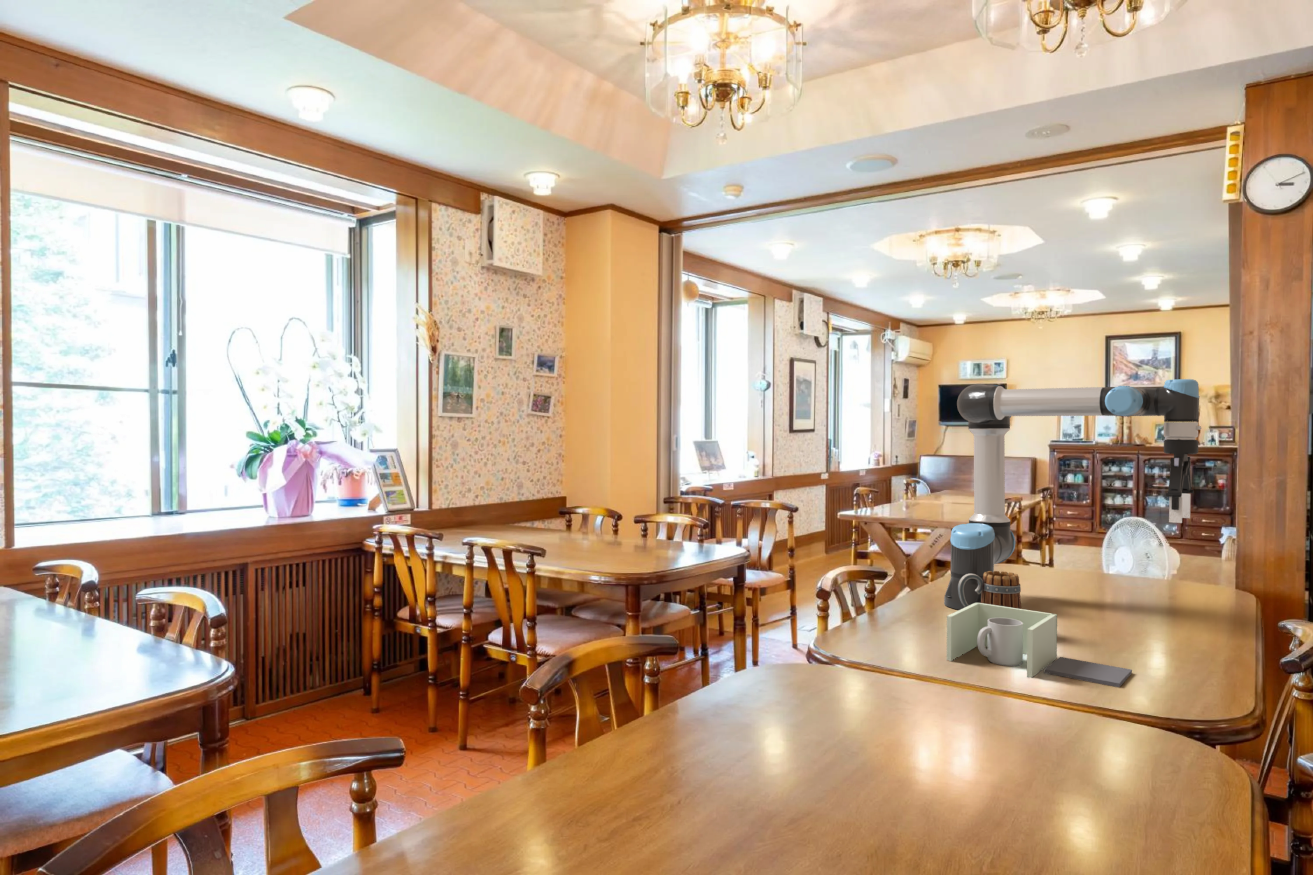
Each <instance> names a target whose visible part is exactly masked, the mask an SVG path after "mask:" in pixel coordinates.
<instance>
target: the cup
mask: <svg viewBox="0 0 1313 875" xmlns="http://www.w3.org/2000/svg"><path fill="white" fill-rule="evenodd" d="M986 635H987V647H985V637H986ZM977 645H978V646H977V649H978V650H979V653H980V654H981V655H982V656H984V657H987V660H988V661H989V662H990V663H993V664H995V665H999V666H1005V667H1016V666H1020V665H1022V663H1023V660H1024V659H1023V658H1024V656H1023V623H1022V622H1021V621H1018V620H1015V619H1009V618H990V619H988V626H986V627H984V628H982V629H981V630H980V631H979V633H978V637H977Z"/></svg>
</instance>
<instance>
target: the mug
mask: <svg viewBox="0 0 1313 875" xmlns="http://www.w3.org/2000/svg"><path fill="white" fill-rule="evenodd" d="M968 579H976V580H977V581H978V587H977V589H976V590H975V591H976V592H977V593H978V594H980V593H981V592H982V596H981V603H984V604H990V605H997V606H1004V607H1011V608H1017V609H1022V600H1021V590H1022V588H1021V583H1020V576H1019V575H1018V574H1017V573H1014V572H1010V571H1009V572H1008V571H1004V570H1003V571H1002V570H1001V571H999V570H994V571H993V572H992V571H988V572H984V574H983V580H982V579H981V578H980V577H979V576H977V575H975V574H966V575H964V576H963V577H962V578H961V579H960V581H959V584H958V593H959V598H960V601H961V603H962V604H963V606H964V607H967V606H969V605H968V604H967V602H966V600H965V596H964V585H965V583H966V581H967V580H968Z"/></svg>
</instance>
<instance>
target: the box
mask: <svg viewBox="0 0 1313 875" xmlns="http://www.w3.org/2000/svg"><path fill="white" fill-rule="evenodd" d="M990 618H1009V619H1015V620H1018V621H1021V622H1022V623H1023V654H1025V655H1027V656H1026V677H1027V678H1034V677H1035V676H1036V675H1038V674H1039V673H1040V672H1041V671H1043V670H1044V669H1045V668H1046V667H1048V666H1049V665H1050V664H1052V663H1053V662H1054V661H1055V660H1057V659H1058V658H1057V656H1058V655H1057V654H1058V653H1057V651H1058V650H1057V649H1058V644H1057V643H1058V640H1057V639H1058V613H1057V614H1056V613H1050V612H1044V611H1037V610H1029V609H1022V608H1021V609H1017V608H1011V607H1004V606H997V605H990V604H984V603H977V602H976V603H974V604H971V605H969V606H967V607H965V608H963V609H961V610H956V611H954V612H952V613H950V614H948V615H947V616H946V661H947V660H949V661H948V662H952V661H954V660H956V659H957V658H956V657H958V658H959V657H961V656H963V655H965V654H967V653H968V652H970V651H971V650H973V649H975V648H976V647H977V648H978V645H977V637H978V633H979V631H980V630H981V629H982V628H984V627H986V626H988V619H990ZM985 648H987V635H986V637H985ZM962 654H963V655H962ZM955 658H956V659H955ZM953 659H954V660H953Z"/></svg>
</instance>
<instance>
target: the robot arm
mask: <svg viewBox="0 0 1313 875" xmlns="http://www.w3.org/2000/svg"><path fill="white" fill-rule="evenodd" d="M1199 391H1200V390H1199V382H1198V381H1197V380H1196V379H1192V378H1183V379H1182V378H1181V379H1178V378H1177V379H1166V380H1165V382H1164V385H1163V386H1162V387H1161V386H1160V387H1134V386H1130V385H1117V386H1105V387H1104V386H1097V387H1095V386H1091V387H1088V386H1087V387H1055V388H1054V387H1051V388H1050V387H1049V388H1048V387H1047V388H1014V389H1013V388H1012V389H1011V388H1009V389H1008V388H1007V389H1006V388H1004V387H1003V386H1001V385H997V384H984V383H976V384H971V385H968V386H967V387H965V388H964V389H962V391H961V392H960V393H959V395H958V397H957V401H956V406H957V411H958V412H959V414H960V416H961V417H962V418H963V419H964V420H966V421H968V427H967V429H968V431H969V432H971V434H972V435H973V491H974V492H973V507H974V508H973V512H974V513H973V514H972V515H971V516H969V518H968V523H966V524H965V523H962V524H961V523H960V524H957V525H955V526H953V528H952V529H951V532H950V580H949V582H948V584H947V585H948V586H947V588H946V591H945V594H944V598H943V604H944V605H945V607H948V608H950V609H954V610H957V611H959V610H961V609H963V608H965V607H964V606H963V604H962V603H961V601H960V598H959V593H958V584H959V581H960V579H961V578H962V577H963V576H964V575H966V574H975V575H977V576H979V577H980V578H981V579H982V580H983V574H984V572H988V571H992V572H993V571H995V565H996V564H1000V563H1003V562H1005V561H1006V560H1007V559H1009V558H1010V557H1011V556H1012V554H1013V552H1015V548H1016V538H1015V535H1014V533H1013V531H1012V530H1011V519H1010V518H1009V517H1008V515H1006V514H1005V513H1006V509H1005V508H1006V504H1005V502H1006V500H1005V499H1006V496H1005V495H1006V491H1005V490H1006V487H1005V482H1006V481H1005V477H1006V476H1005V473H1006V472H1005V471H1006V470H1005V466H1006V465H1005V464H1006V463H1005V458H1006V457H1005V454H1006V453H1005V449H1006V448H1005V445H1006V444H1005V437H1006V436H1005V435H1006V434H1007V433H1008V432H1009V431H1010V430H1011V417H1079V416H1081V417H1086V416H1087V417H1091V416H1092V417H1094V416H1096V417H1098V416H1099V417H1100V416H1103V417H1114V416H1115V417H1117V416H1118V417H1127V418H1128V417H1151V416H1152V417H1163V418H1164V419H1163V437H1164V438H1165V439H1164V440H1163V453H1164V454H1167V455H1171V454H1172V455H1173V457H1170V470H1169V480H1168V491H1167V492H1166V493H1165V497H1168V500H1169V501H1168V505H1169V506H1168V510H1169V512H1168V523H1173V524H1177V523H1178V524H1182V523H1183V519H1191V496H1192V495H1191V494H1194V493H1195V489H1193V486H1192V477H1191V476H1192V474H1191V465H1192V463H1191V456H1189V455H1198V453H1199V440H1197V439H1196V438H1198V437H1199V431H1201V430H1202V427H1201V426H1200V425H1199V416H1200V413H1199V412H1200V393H1199ZM977 587H978V581H977V580H976V579H968V580H967V581H966V583H965V585H964V596H965V600H966V602H967V604H968V605H971V604H974V603H976V602H977V603H981V596H982V592H981V593H980V594H978V593H977V592H976V591H975V590H976V589H977Z"/></svg>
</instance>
